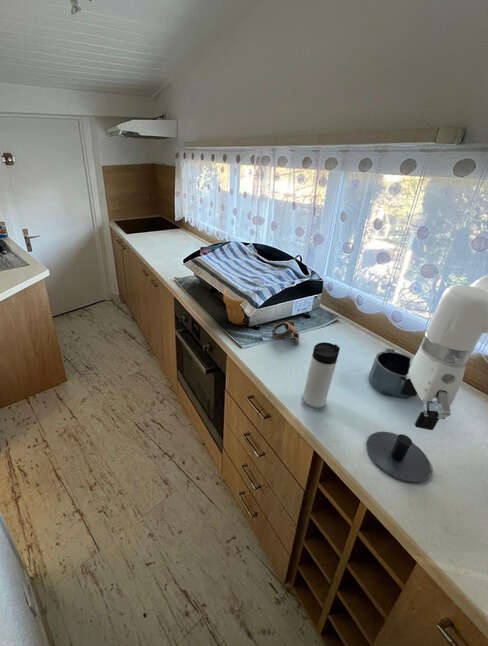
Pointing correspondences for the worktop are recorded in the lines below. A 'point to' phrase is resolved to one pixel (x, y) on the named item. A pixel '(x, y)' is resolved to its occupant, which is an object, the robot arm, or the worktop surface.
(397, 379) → the pot
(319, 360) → the travel mug
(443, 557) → the worktop surface
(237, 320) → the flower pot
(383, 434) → the lid
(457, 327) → the robot arm
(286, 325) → the brown goggles
